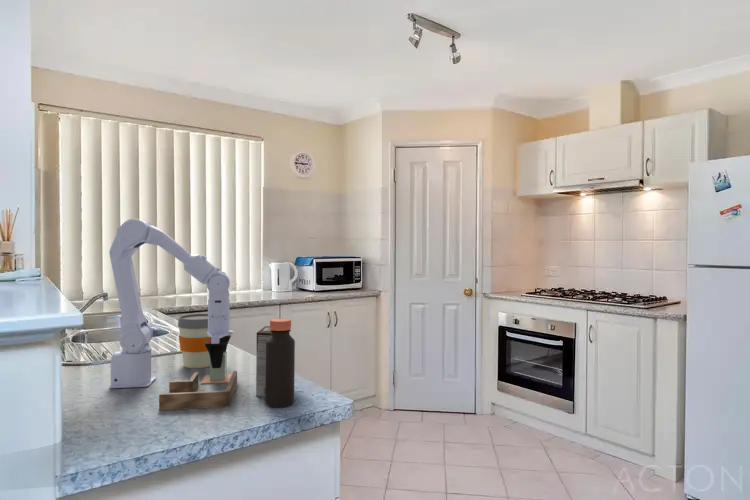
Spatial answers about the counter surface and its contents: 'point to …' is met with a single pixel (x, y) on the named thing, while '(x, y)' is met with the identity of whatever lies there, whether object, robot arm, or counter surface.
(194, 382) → the channel
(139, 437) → the counter surface
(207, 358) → the reusable coffee cup
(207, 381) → the tile
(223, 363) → the sage block
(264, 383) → the coffee box
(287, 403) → the bottle
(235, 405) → the counter surface
